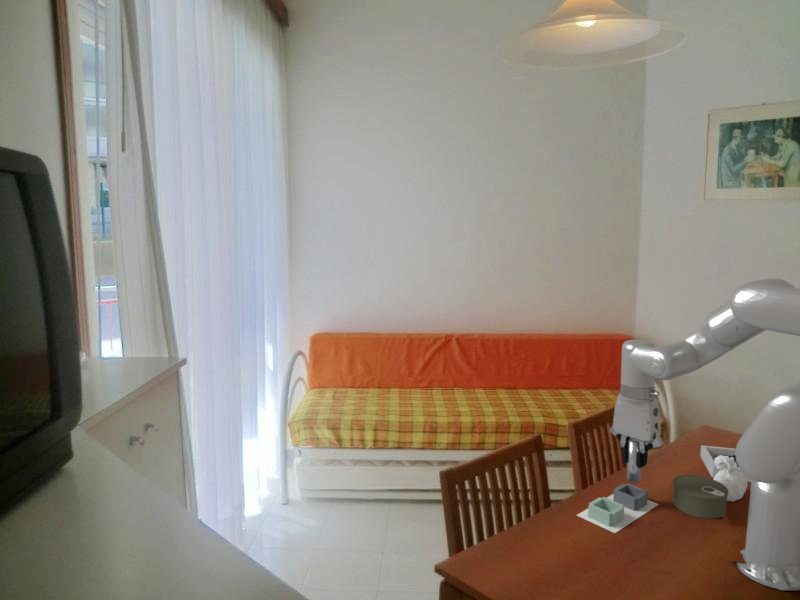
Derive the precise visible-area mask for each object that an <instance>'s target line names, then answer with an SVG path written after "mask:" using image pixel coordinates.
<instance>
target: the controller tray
mask: <svg viewBox="0 0 800 600" xmlns="http://www.w3.org/2000/svg"><path fill="white" fill-rule="evenodd" d="M735 451H736V448H732V447H722V446H712V445H711V446H710V445H700V454H699V455H700V458H701V460H702V462H703V464H704V465H705V467H706V469H707V471H708V473H709V474H710V477H711V479H714V477H715V475H716V474H717V473H718V472H719V471H720V468H719V469H717V466H716V464H715V461H714V459H715V458H716V457H717V456H718V455H728V456H733V455H735ZM734 471H739V472H742V471H741V469H740V468H739V467H736V468H735V470H734ZM742 473H743V472H742ZM743 474H744V473H743ZM744 476H745V478H746V481H747V483H751V482H752V479H750V478H749V477H747V476H746V475H745V474H744Z"/></svg>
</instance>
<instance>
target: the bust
mask: <svg viewBox="0 0 800 600" xmlns="http://www.w3.org/2000/svg"><path fill="white" fill-rule="evenodd" d="M713 460H714V462H715V464H716V466H717V469H719V468H720V471H719V472H718V473H717V474H716V475H715V477H714V478H712V479H713V480H715V481H718V482H720V483H721V484H723V485H724V486H725V487H726V488H727V489H728V496H727V502H735V501H738V500H740V499H743V497H744V494H745V493H746V491H747V488H748V482H747V481H746V478H745V476H744V474H743V473H742V472H739V471H734V470H735V468H736V467H737V463H735V461H734V458H733V457H732V458H729V457H728V456H723V455H719V456H718V457H716V458H715V459H713Z"/></svg>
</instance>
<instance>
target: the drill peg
mask: <svg viewBox="0 0 800 600" xmlns="http://www.w3.org/2000/svg"><path fill="white" fill-rule="evenodd" d="M639 451H640V446H639V440H638V439H635V438H631V439H629V440H628V463H627V472H626V473H627V474H626V476H627V477H626V480H627V481H628V482H631V483H636V484H637V483H640V482H641V474H642V472H641V471H642V470H641V469H642V468H638V467H637V453H638V452H639Z"/></svg>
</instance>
